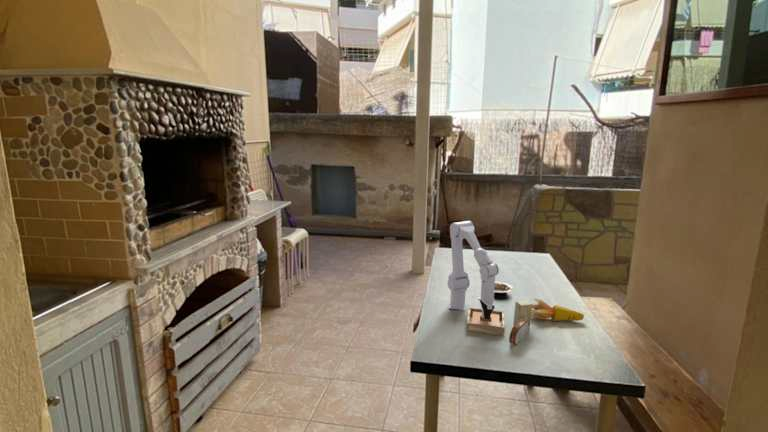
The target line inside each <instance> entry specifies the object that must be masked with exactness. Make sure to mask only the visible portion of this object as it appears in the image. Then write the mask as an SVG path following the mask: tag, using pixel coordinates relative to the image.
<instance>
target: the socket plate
mask: <svg viewBox="0 0 768 432" xmlns="http://www.w3.org/2000/svg"><path fill="white" fill-rule="evenodd" d="M481 319H482V312H474V311H473V316H472V323H478V324H486V325H494V326H499V314H491V315H490V318H489V322H487V321H481Z"/></svg>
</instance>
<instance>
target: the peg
mask: <svg viewBox="0 0 768 432" xmlns="http://www.w3.org/2000/svg"><path fill="white" fill-rule="evenodd" d="M481 309H482V319H481V321H487V322H489V320H488V319H484V313H483V308H482V307H481Z"/></svg>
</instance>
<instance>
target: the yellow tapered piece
mask: <svg viewBox="0 0 768 432" xmlns="http://www.w3.org/2000/svg"><path fill="white" fill-rule="evenodd" d="M532 299H534V301H535V302H537V303H532V304H533V305H532V314H531V320H545V319H551V320H552V322H558V321H561V322H562V321H568V322H570V321H571V322H573V321H574V322H575V321H582V320H584V318H585V315H584V313H581V312H580V311H576V310H571V309H569V308H566V307H563V306H559V305H553V306H550V305H549V304H547V303H546V302H544V301H543V300H542V299H539V298H535V297H534V298H532Z"/></svg>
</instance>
